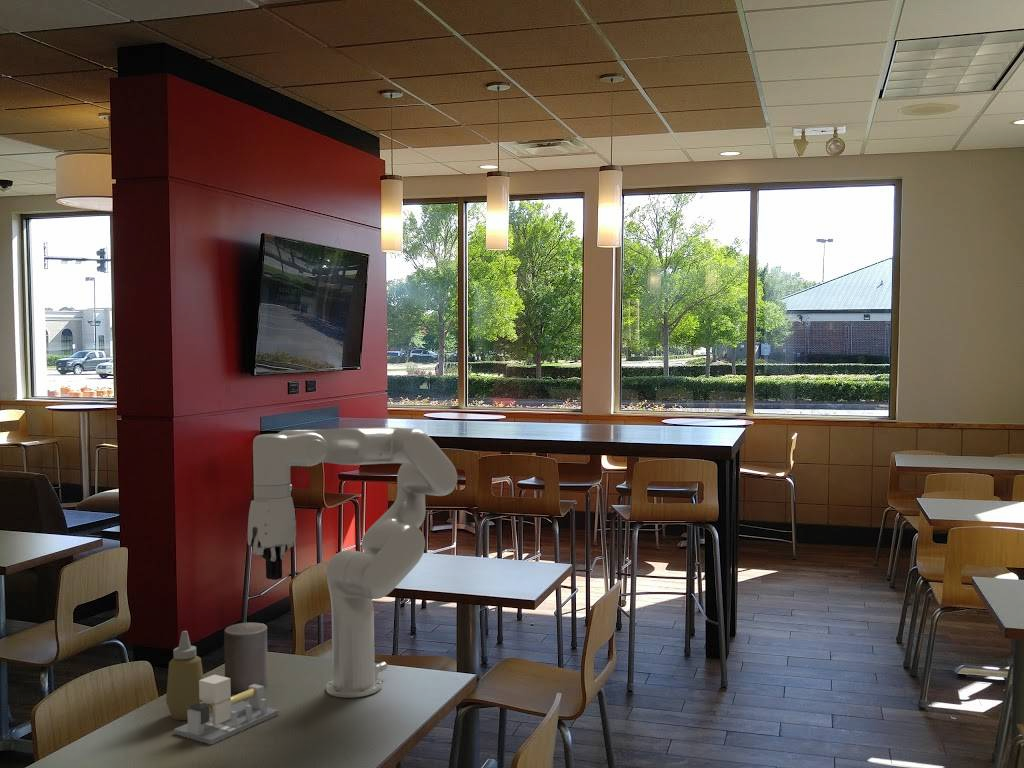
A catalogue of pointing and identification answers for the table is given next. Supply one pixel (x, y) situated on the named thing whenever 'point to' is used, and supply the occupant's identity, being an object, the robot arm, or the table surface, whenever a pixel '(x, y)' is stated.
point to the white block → (216, 697)
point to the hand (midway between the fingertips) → (274, 578)
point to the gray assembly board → (240, 719)
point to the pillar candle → (246, 655)
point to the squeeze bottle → (183, 679)
